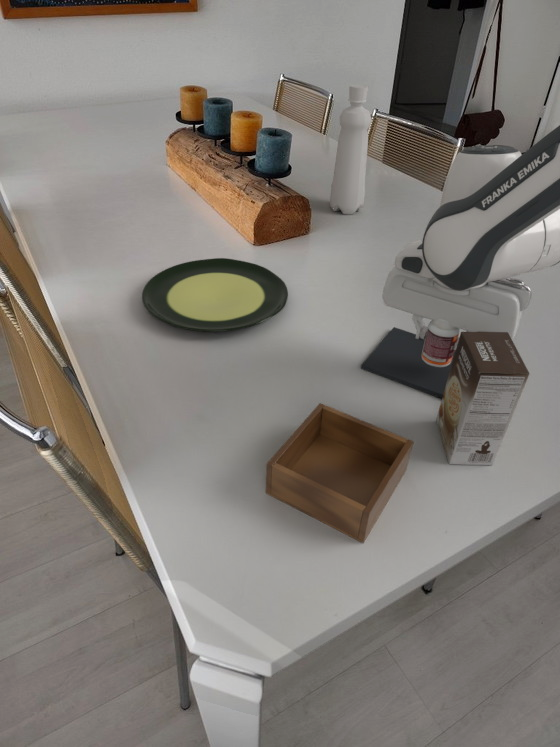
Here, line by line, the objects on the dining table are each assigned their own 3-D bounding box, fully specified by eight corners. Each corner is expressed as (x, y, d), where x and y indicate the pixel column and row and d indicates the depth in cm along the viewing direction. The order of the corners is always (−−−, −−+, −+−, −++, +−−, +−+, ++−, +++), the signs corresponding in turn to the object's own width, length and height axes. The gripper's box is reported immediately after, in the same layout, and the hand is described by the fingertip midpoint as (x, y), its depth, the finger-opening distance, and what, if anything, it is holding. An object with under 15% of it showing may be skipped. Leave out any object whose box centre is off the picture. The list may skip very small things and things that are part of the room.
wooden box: (406, 470, 73) (413, 441, 69) (363, 543, 63) (369, 514, 60) (317, 431, 78) (320, 402, 75) (265, 493, 69) (266, 463, 65)
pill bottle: (452, 369, 85) (465, 324, 80) (421, 366, 86) (432, 320, 81) (450, 352, 89) (462, 308, 84) (420, 349, 90) (430, 304, 84)
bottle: (369, 209, 148) (385, 86, 129) (351, 218, 142) (365, 91, 124) (340, 201, 152) (352, 81, 134) (322, 210, 146) (332, 85, 128)
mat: (503, 367, 92) (504, 363, 91) (480, 413, 82) (482, 409, 82) (393, 330, 100) (393, 326, 99) (360, 368, 90) (361, 364, 90)
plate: (150, 269, 116) (148, 258, 114) (280, 267, 119) (280, 256, 117) (135, 343, 94) (133, 331, 92) (295, 338, 97) (296, 327, 95)
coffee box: (433, 419, 81) (459, 328, 71) (476, 421, 81) (507, 330, 71) (448, 465, 73) (478, 371, 64) (495, 467, 73) (532, 373, 64)
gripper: (540, 275, 75) (511, 356, 84) (401, 239, 83) (388, 316, 92) (530, 293, 71) (501, 377, 79) (385, 254, 79) (372, 333, 88)
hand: (439, 344), depth 86 cm, fingers closed on pill bottle, 5 cm apart
